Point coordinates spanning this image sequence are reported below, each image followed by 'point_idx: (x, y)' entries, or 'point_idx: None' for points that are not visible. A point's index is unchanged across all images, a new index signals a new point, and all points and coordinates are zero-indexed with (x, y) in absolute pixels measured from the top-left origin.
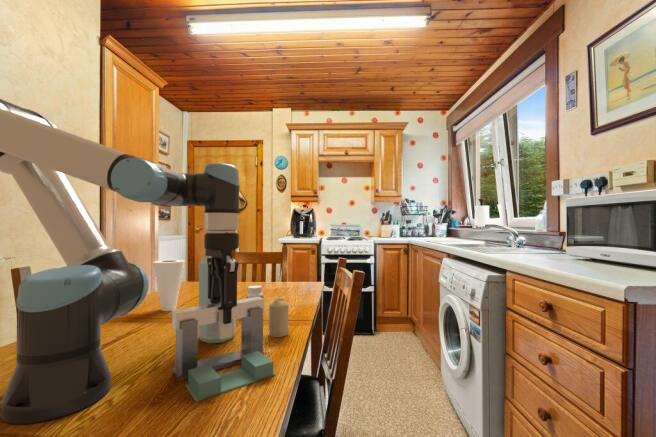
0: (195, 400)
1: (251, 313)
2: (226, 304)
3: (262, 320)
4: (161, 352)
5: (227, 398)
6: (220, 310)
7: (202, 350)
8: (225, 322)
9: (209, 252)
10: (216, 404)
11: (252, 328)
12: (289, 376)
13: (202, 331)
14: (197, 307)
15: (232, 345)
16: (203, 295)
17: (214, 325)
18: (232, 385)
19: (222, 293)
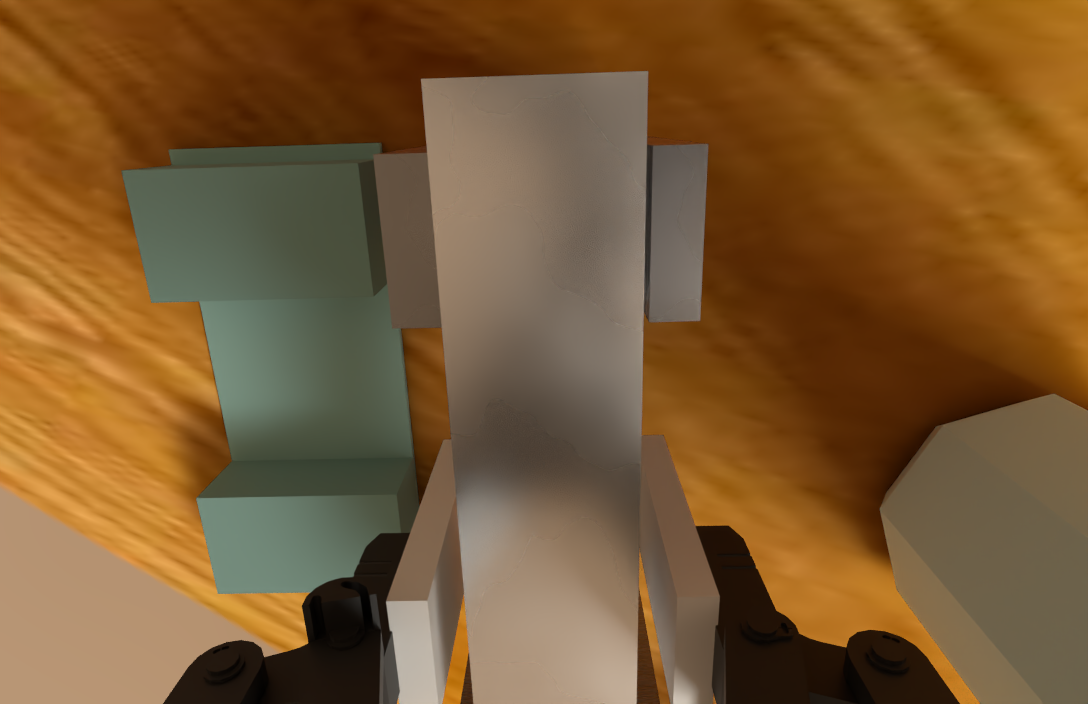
0: (179, 149)
1: None
2: (177, 686)
3: None
4: (1032, 111)
5: (138, 292)
6: (391, 595)
7: (843, 359)
8: (369, 547)
9: None
10: (105, 230)
11: (464, 681)
12: (211, 596)
13: (1036, 430)
14: (575, 411)
15: (783, 528)
16: None
17: (644, 483)
18: (234, 352)
19: None
